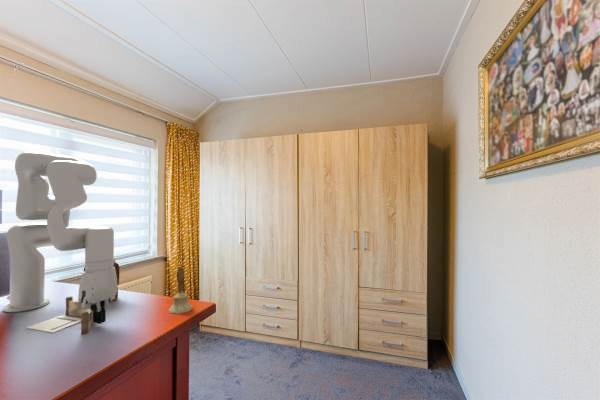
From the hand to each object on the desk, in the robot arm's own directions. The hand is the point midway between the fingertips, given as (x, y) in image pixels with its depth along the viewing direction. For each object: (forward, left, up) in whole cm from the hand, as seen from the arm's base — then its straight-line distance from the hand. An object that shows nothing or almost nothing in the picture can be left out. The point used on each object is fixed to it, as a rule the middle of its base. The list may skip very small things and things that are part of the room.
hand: (99, 322), depth 91 cm
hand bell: (+16, +19, -2) cm, 25 cm away
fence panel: (-3, -1, -1) cm, 3 cm away
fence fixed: (-13, +4, -1) cm, 14 cm away
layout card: (-15, -3, -1) cm, 15 cm away
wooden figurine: (-20, +17, -2) cm, 27 cm away
